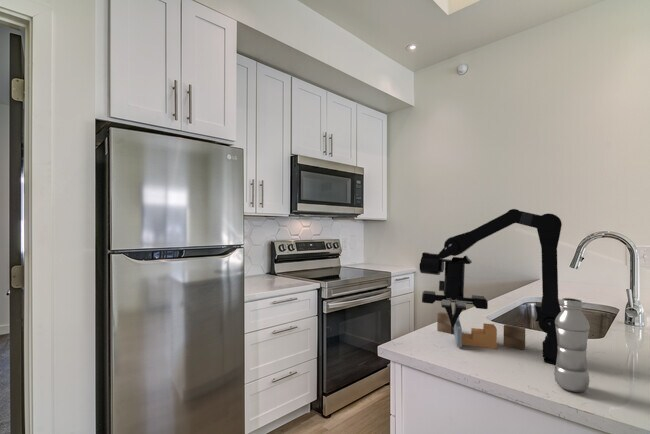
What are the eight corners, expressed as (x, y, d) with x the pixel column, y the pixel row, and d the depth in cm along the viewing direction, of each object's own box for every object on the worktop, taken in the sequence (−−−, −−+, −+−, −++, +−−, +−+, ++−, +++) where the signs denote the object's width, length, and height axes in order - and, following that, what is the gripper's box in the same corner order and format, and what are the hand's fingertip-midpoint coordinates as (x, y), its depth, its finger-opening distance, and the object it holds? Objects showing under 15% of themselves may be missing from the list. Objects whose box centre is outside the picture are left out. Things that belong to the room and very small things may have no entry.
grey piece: (453, 332, 115) (453, 314, 115) (458, 332, 115) (458, 315, 115) (456, 347, 101) (456, 328, 101) (462, 348, 101) (462, 328, 101)
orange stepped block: (460, 344, 105) (460, 325, 105) (459, 339, 110) (459, 321, 110) (496, 348, 102) (496, 329, 102) (493, 343, 107) (493, 324, 107)
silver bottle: (547, 384, 79) (547, 297, 80) (567, 380, 82) (567, 295, 82) (575, 398, 73) (576, 304, 74) (596, 392, 76) (597, 302, 76)
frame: (525, 348, 102) (525, 327, 102) (523, 350, 100) (523, 329, 101) (439, 329, 119) (439, 311, 119) (437, 330, 117) (437, 313, 117)
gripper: (483, 275, 112) (481, 323, 112) (423, 270, 117) (422, 316, 117) (488, 281, 101) (486, 334, 101) (422, 276, 107) (421, 326, 107)
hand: (452, 327), depth 107 cm, fingers closed
